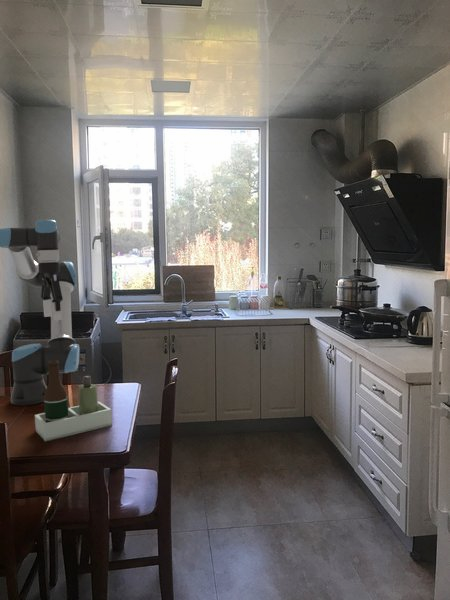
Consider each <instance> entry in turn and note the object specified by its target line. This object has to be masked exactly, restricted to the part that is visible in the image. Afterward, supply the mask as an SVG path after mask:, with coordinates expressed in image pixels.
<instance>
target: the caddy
mask: <svg viewBox="0 0 450 600" xmlns="http://www.w3.org/2000/svg"><path fill="white" fill-rule="evenodd" d="M68 412H69V418H66V419H61V420H57V421H52V422H48V423H46V419H45V412H42V413H38V414H34V425H35V432H36V433H37V434H38V435H39V436H40V438H41V439H42V440H43V441H44V442H48V441H54V440H58V439H61V438H66V437H69V436H74V435H78V434H81V433H85V432H90V431H94V430H98V429H102V428H106V427H110V426H113V416H112V415H113V413H112V409H111V408H110V407H108V406H106V405H105V404H104V403H102V402H101V401H98V411H97V412H93V413H88V414H84V415H80V412H79V405H76V406H71V407H68Z"/></svg>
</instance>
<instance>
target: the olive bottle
mask: <svg viewBox="0 0 450 600" xmlns="http://www.w3.org/2000/svg"><path fill="white" fill-rule="evenodd" d="M82 381H83V382H82V384H81V385H80V386H78V387H77V392H78V394H77V395H78V406H79V412H80V415H84V414H88V413H93V412H97V411H98V402H99V400H98V386H97V384H94V383H93V384H92V379H91V375H84V376H82Z"/></svg>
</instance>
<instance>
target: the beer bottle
mask: <svg viewBox="0 0 450 600" xmlns="http://www.w3.org/2000/svg"><path fill="white" fill-rule="evenodd" d="M58 364H59V362H58V361H57V360H52V361H49V362H48V366H49V374H48V385H47V386H46V387H47V389H46V391H45V394H44V402H43V403H44V413H45V419H46V423H48V422H52V421H57V420H61V419H66V418H69V412H68V408H69V402H68V401H69V400H68V391H67V389H66V387H65V385H63V383H62V380H61V375H60V374H61V373H59V366H58Z"/></svg>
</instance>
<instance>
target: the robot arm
mask: <svg viewBox="0 0 450 600" xmlns="http://www.w3.org/2000/svg"><path fill="white" fill-rule="evenodd" d="M34 223H35V227H33V226H31V227H4V228H2V227H1V228H0V248H2V249H8V250H9V253H10V255H11V257H12V260H13V262H14V264H15V266H16V268H15V272H16V274H17V276H18V278H19V279H20V280H21V281H22V282H23V283H25V284H27V285H29V286H32V287H34V288H37V289H38V288H40V289H41V290H40V292H41V293H40V298H41V299H42V305H43V317H44V318H46V317H48V318H49V317H50V339H49V340H48V341H47V345H46V346H42V344H41V343H30V344H26V345H25V344H24V345H21V346H18V347H16V348H15V349H13V350H12V352H11V363H12V373H13V374H12V375H13V387H12V390H11V396H10V404H11V405H13V406H32V405H37V404H42V403H44V394H45V391H46V389H47V387H48V386H47V384H46V383H45V380H44V376H45V375H49V366H48V362H49V361H52V360H57V361H58V362H59V364H58V366H59V374H68V373H72V372H76V371H77V370H78V368H79V363H80V345H79V344H77V342H76V339H74V338H73V330H72V329H73V328H72V327H73V325H72V302H71V301H72V300H71V299H72V296H71V295H72V294H71V293H72V292H73V291H74V290H75V287H77V286H78V283H77V277H76V270H75V266H74V263H73V262H71V261H60V249H59V242H60V240H61V235H60V232H59V231H58V226H57V224H58V223H57V221H56V220H55V219H38V220H35V222H34ZM31 247H32V248H37V249H36V250H37V253H35V255H36V256H37V261H38V262H37V261H35V260H34V256H33V253H32V251H31Z"/></svg>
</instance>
